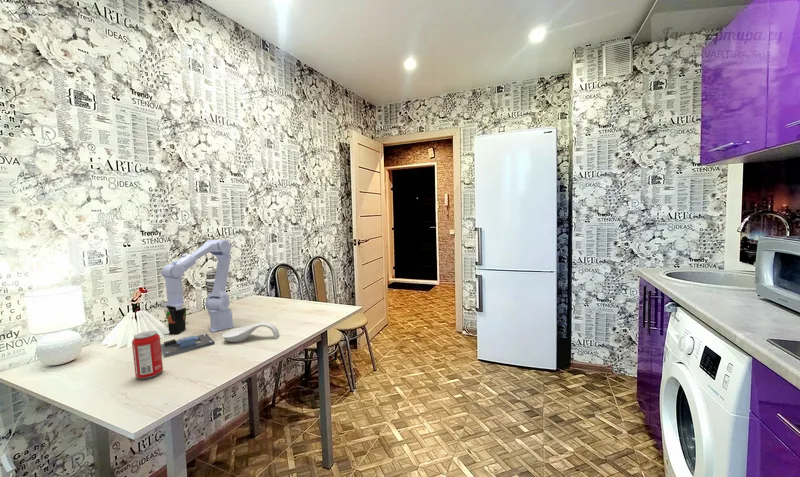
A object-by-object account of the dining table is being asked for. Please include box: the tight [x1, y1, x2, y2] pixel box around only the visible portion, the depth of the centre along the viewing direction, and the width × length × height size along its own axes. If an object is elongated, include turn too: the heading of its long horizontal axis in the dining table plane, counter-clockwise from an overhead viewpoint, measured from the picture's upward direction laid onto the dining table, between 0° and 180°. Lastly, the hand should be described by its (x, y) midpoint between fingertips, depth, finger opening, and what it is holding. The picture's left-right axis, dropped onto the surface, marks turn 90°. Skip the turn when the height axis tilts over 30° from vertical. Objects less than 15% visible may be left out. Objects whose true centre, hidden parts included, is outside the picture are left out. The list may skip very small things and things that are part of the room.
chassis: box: [161, 333, 215, 358], centre depth 143 cm, size 18×14×2 cm
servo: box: [175, 335, 198, 348], centre depth 143 cm, size 8×3×4 cm, turn 132°
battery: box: [167, 315, 187, 336], centre depth 161 cm, size 4×7×10 cm, turn 5°
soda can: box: [131, 330, 164, 380], centre depth 117 cm, size 8×8×15 cm
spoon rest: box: [221, 321, 280, 343], centre depth 149 cm, size 24×12×7 cm, turn 95°
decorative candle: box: [204, 269, 220, 316], centre depth 190 cm, size 9×9×25 cm
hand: (177, 322), depth 144 cm, fingers open, 7 cm apart
